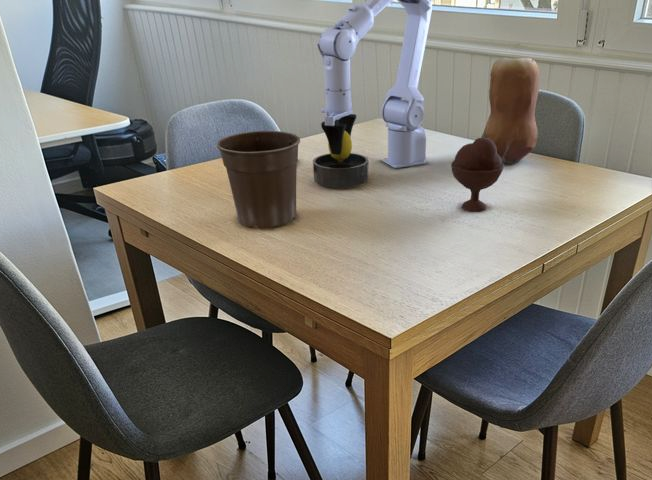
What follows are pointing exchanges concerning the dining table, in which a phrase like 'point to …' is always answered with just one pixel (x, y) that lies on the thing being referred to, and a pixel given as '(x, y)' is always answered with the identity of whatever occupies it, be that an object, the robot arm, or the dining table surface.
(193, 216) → the dining table surface
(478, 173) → the ice cream bowl
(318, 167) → the bowl
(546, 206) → the dining table surface
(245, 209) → the plant pot
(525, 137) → the butternut squash
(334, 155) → the lemon
